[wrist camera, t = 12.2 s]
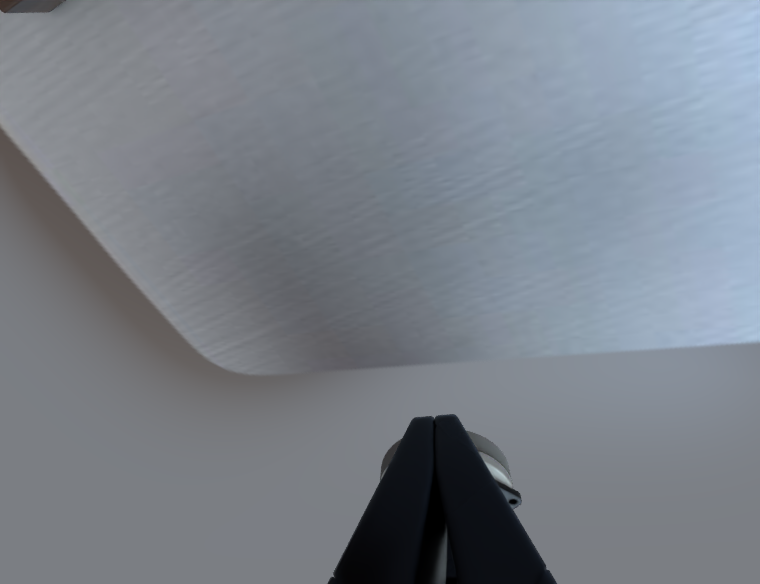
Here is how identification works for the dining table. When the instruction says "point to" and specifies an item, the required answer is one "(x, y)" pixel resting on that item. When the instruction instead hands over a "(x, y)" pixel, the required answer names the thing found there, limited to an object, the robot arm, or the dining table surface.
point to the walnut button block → (28, 5)
